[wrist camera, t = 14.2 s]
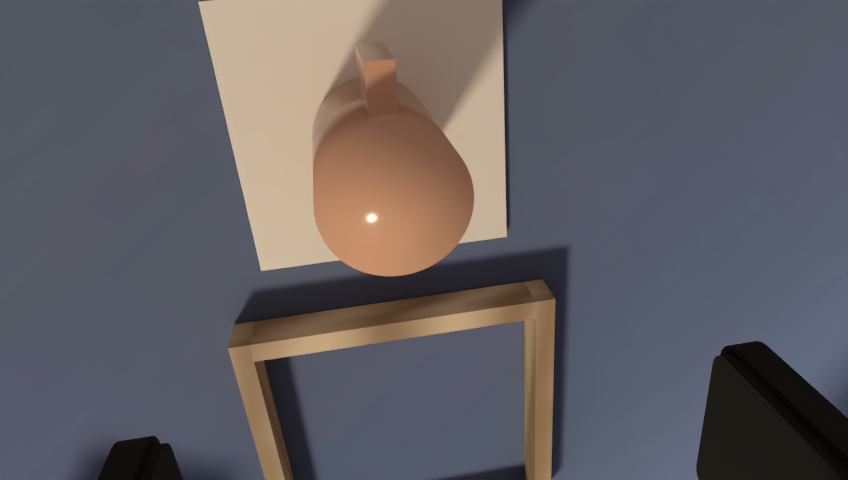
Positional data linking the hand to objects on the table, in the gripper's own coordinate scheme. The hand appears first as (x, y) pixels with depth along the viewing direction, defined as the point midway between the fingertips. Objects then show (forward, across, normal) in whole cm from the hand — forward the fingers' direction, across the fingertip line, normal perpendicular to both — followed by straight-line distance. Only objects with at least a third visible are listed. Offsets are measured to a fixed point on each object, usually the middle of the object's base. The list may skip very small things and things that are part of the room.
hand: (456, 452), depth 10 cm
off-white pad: (+19, 0, -1) cm, 19 cm away
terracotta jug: (+18, 0, -1) cm, 18 cm away
